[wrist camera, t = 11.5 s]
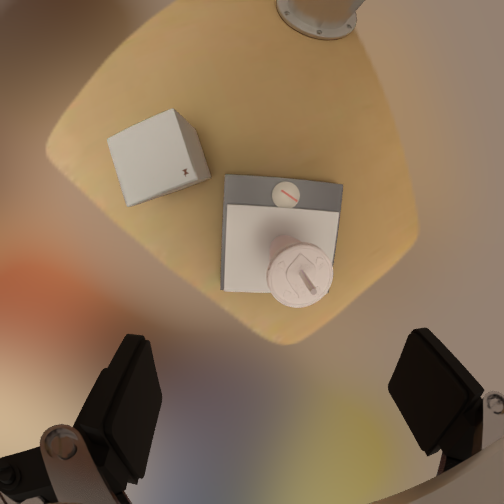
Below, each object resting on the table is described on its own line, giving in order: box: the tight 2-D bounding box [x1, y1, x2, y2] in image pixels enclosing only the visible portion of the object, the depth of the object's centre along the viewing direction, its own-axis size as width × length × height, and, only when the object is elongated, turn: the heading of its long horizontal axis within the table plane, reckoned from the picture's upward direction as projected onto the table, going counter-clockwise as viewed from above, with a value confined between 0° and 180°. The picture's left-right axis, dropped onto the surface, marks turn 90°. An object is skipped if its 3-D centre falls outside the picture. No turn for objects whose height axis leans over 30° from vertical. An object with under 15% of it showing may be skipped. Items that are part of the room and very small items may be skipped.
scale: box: [220, 174, 343, 294], centre depth 36 cm, size 15×15×4 cm
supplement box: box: [107, 108, 211, 207], centre depth 28 cm, size 7×7×13 cm
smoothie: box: [266, 235, 333, 308], centre depth 27 cm, size 6×6×14 cm
